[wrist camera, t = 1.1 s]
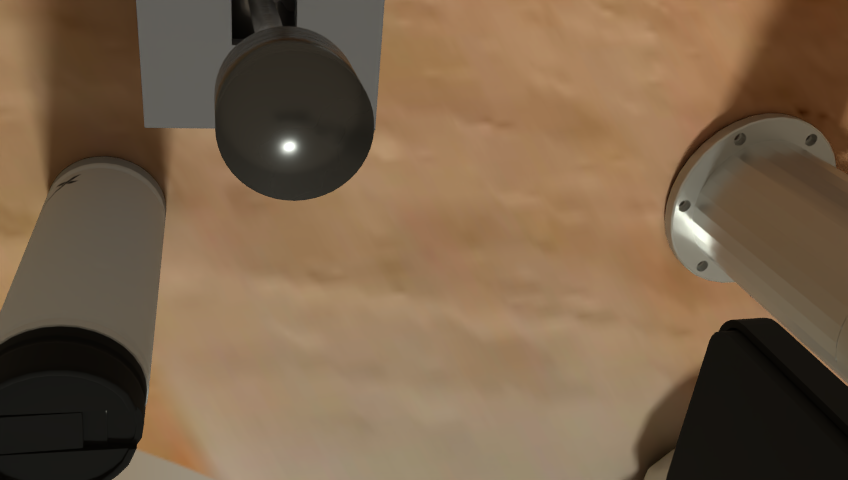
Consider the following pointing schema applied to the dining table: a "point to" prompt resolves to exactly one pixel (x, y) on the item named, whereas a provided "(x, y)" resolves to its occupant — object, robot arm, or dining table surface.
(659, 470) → the potion bottle
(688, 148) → the dining table surface
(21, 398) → the travel mug
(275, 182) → the plunger
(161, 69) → the grey box with hole
